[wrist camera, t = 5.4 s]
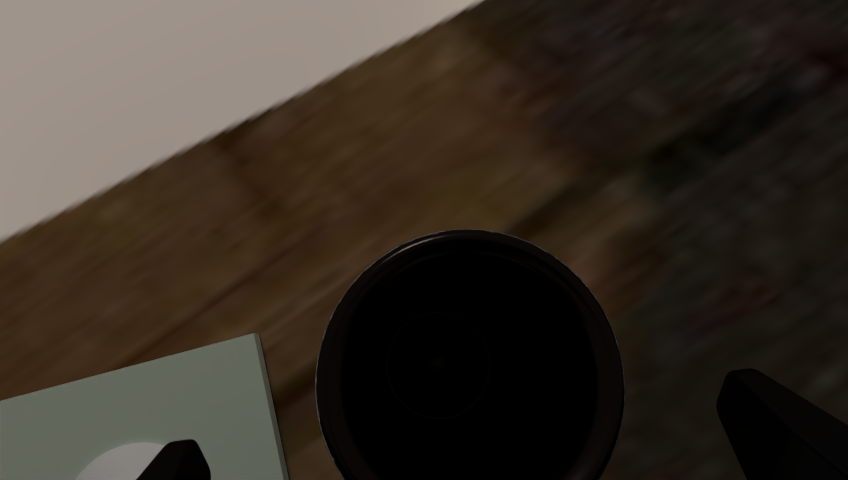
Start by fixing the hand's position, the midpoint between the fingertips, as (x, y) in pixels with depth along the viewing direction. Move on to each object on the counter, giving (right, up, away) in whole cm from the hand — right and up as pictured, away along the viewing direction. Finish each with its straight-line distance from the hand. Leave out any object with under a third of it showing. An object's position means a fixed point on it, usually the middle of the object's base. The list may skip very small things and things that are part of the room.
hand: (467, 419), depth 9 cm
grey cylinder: (0, -1, +9) cm, 9 cm away
